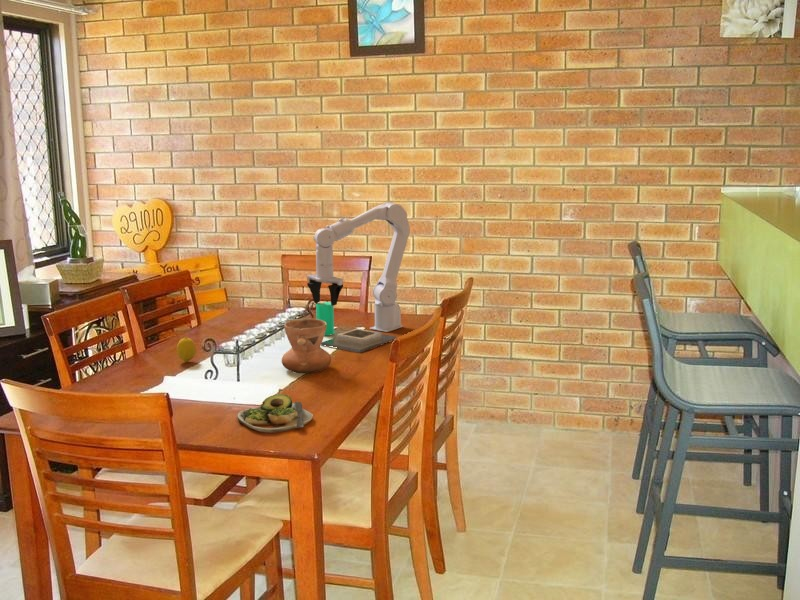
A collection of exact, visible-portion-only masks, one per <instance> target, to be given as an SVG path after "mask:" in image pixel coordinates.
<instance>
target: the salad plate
mask: <svg viewBox="0 0 800 600" xmlns="http://www.w3.org/2000/svg"><path fill="white" fill-rule="evenodd" d="M236 417H237V418H236V419H237V421H238V422H239V423H240V424H242V425H244V426H246V428H247V427H248V428H249V429H251V430H255V431H257V432H260V433H270V434H271V433H272V434H273V433H282V432H283V433H284V432H287V431H291V430H296V429H299V428H300V429H301V428H304V426H305V425H307V423H310V422H311V420H312V419H313V417H314V414H313V413H312V412H310V411H308V410H306V409H304V408H303V403H302V402H301V401H294V402H293V400H292V398H291V397H290V396H289V395H287V394H281V393H279V394H273V395H270V396H268V397H266V398H265V399H264V400H263V401H262V404H261V405H260V406H257V407H252V408H251V407H250V408H245V409H243V410H240V411H239V412H238V414H237V415H236ZM254 425H255V426H254ZM257 425H258V426H257ZM260 425H270V426H274V427H262V426H260Z"/></svg>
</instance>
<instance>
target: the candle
mask: <svg viewBox="0 0 800 600" xmlns="http://www.w3.org/2000/svg"><path fill="white" fill-rule="evenodd" d="M315 306H316V307H315V309H316V311H315V312H316V314H315V317H316V318H315V319H319V320H322V321H325V322H326V323H327V326H326V331H325V335H329V336H331V335H330V334H333V333H334V334H335V316H334V314H335V312H334V311H335V310H334V308H335V307H334V306H335V305H334V306H332V305H331V301H329V302H327V301H326V299H324V302H317V303H315ZM334 334H333V335H334Z"/></svg>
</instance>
